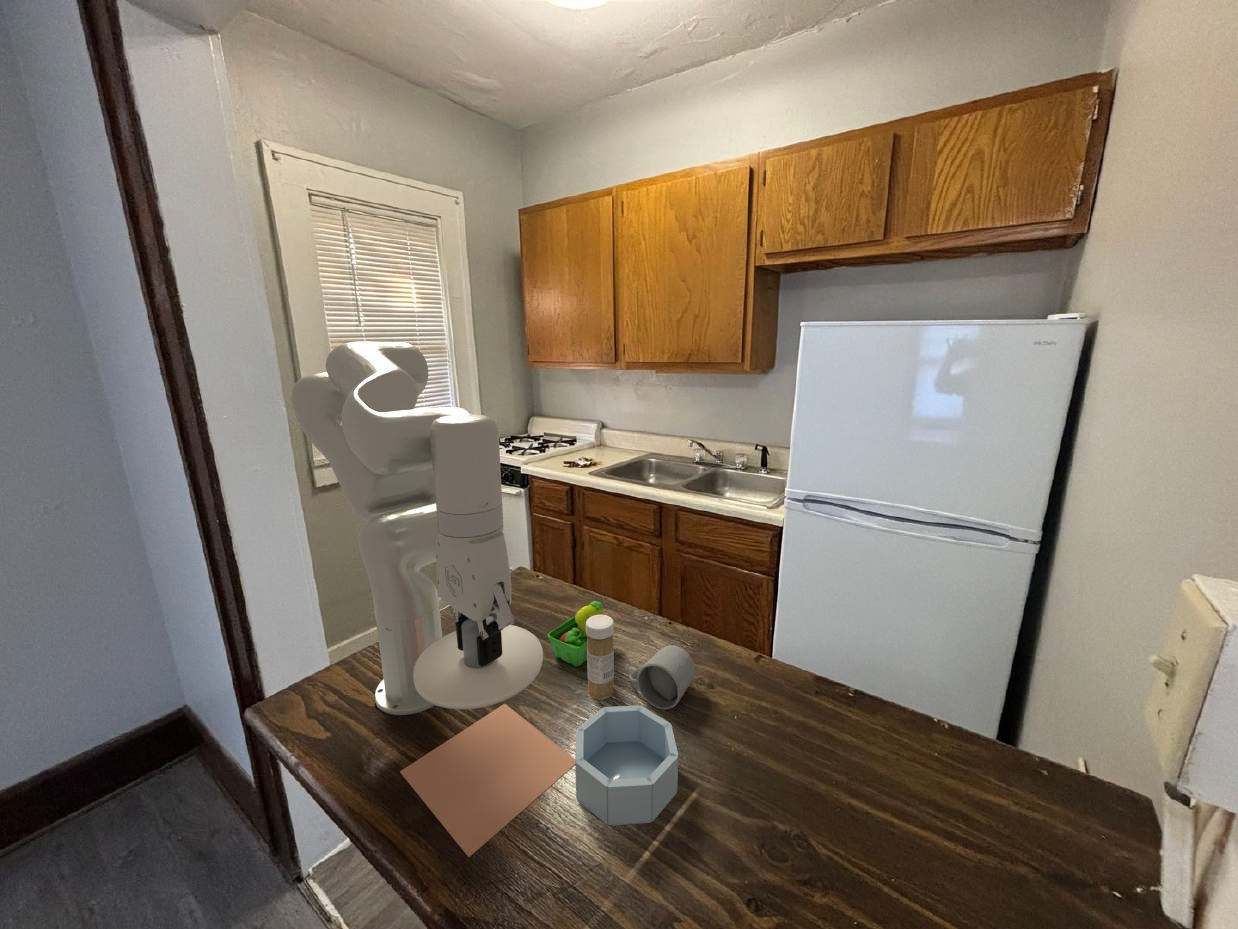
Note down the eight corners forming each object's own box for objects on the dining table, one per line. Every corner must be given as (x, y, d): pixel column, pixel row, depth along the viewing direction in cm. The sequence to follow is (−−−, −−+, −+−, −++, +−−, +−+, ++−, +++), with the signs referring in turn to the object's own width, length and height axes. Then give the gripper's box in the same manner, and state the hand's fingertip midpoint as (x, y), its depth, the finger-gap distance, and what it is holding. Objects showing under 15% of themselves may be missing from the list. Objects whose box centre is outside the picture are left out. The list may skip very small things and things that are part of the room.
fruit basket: (585, 631, 98) (584, 580, 95) (620, 646, 93) (620, 593, 90) (546, 659, 89) (544, 604, 86) (582, 677, 84) (581, 620, 81)
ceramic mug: (697, 686, 81) (698, 646, 80) (678, 717, 74) (679, 674, 73) (642, 667, 87) (642, 629, 85) (620, 694, 80) (619, 654, 78)
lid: (390, 667, 61) (386, 626, 60) (496, 616, 73) (494, 581, 71) (458, 732, 51) (454, 685, 49) (568, 660, 62) (567, 621, 61)
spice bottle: (607, 680, 83) (606, 611, 80) (618, 697, 79) (618, 624, 76) (583, 688, 81) (581, 617, 78) (593, 705, 77) (592, 631, 74)
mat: (400, 774, 64) (399, 771, 64) (504, 706, 77) (504, 703, 77) (469, 860, 53) (468, 857, 53) (578, 764, 66) (578, 761, 66)
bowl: (556, 783, 63) (554, 745, 62) (620, 727, 72) (620, 693, 71) (631, 849, 55) (632, 807, 53) (693, 775, 64) (694, 738, 63)
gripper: (407, 510, 60) (420, 639, 64) (483, 547, 49) (492, 699, 53) (461, 497, 65) (470, 617, 69) (540, 527, 54) (544, 667, 59)
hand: (479, 651), depth 61 cm, fingers closed on lid, 4 cm apart
